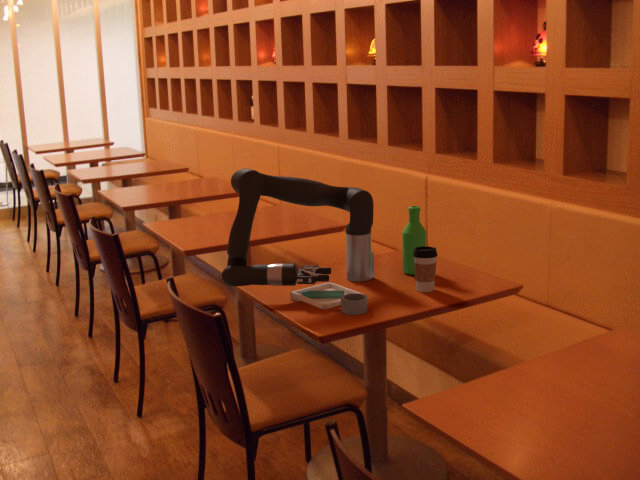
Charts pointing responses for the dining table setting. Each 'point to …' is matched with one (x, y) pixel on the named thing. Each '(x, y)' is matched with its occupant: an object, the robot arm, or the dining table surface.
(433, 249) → the coffee cup
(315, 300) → the tray
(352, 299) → the cup
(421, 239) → the bottle
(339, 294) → the green rounded rod
